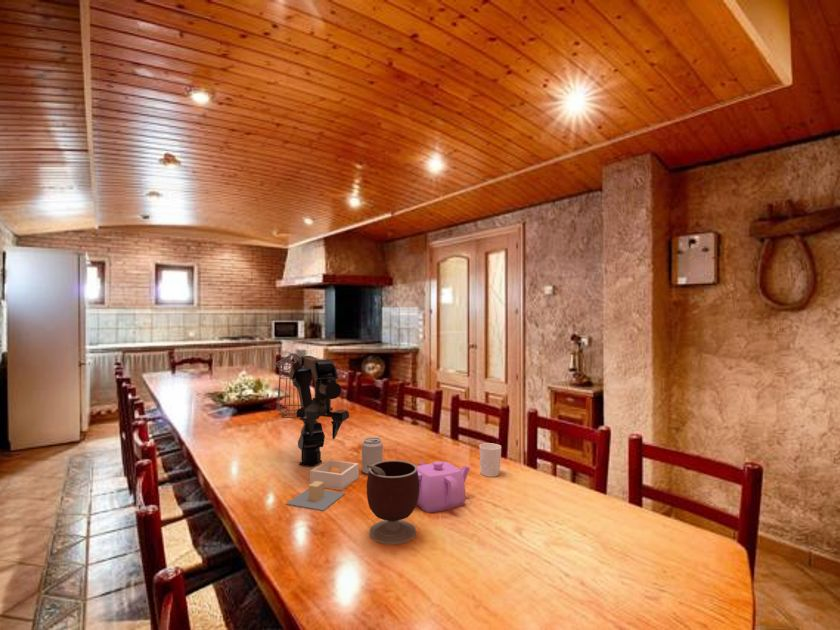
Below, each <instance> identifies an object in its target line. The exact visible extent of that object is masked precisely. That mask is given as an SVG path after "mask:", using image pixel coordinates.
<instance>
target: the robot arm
mask: <svg viewBox="0 0 840 630" xmlns="http://www.w3.org/2000/svg"><path fill="white" fill-rule="evenodd" d="M299 357H300V358H298V359H299V360H298V361H297V360H296V363H295V362H294V363H293V364H292V365H293V366H291V367H290V368H291V369H290V370H289V371H290V372H289V375H290V376H289V378H291V381H292V385H294V388H296V390H297V389H298V398H299V405H301V406H300V407H299V409H298V408H297V409H298V410H297V411H295V413H296V414H295V417H297V418H299V420H300V421H303V426H302V427H301V430H300V436H299V438H298V440H297V448H298V449H299V450H300V451H301V457H300V458H301V462H299V463H298V465H299V466H306V467H316V466H318V465H320V464H321V463H323V460H322V457H321V456H322V455H321V453H322V452H321V448H323V447H324V443H325V437H326V436H325V435H326V434H325V433H324V432H325V431H324V430H323V425H322V423H321V422H318V421H317V420H319V419H320V417H323V418H324V417H325V418H331V421H330V423H331V426H332V428H331V429H332V432H331V433H332V434H331V435H332V437H331V438H332V440H335V439H336V437H337V434H338V432H339V430H340V427H341V425H342V424H343V422H344V421H345V422H346V420H347V419H350V413H349V411H348V410H346V409H345V410H344V409H337V410H335V411H333V407H332V406H331V402H332V400H334V399H337V398H339V396H340V395H341V393H342V388H341V386H340V384H339V383H338V382H337V379H338V375H339V373H338V370H337V368H336V365H335V363H334V362H333V360H332V359H331V358H329V359H319V358H316V357H314V356H312V355H303V356H302V355H301V356H299ZM302 366H303V367H302ZM313 381H314V397H313V396H312V391H311V386H310V385H311V383H312V382H313Z"/></svg>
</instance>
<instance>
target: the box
mask: <svg viewBox="0 0 840 630" xmlns="http://www.w3.org/2000/svg"><path fill="white" fill-rule="evenodd" d="M359 466H360V464H359V463H358V462H357V463H356V462H349V461H341V460H336V459H335V460H334V459H327V460H326V461H324V462H321V463H320V464H318V465H316V466H314V468H312V469H311V470H310V472H309V485H310V484H312V483H313V482H315V481H320V482H324V489H331V490H338V491H343V490H344V489H346V488H347V487H348V486H350V485H351V484H352V483H353V482H355V481H356V480H357V479H359ZM334 467H337V468H339V469H340V471H341V474H339V473H332V472H329V471H330V470H331V469H332V468H334Z"/></svg>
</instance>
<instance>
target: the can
mask: <svg viewBox="0 0 840 630" xmlns="http://www.w3.org/2000/svg"><path fill="white" fill-rule="evenodd" d="M381 440H382V439H381V438H380V437H376V436H373V437H372V436H370V437H366V438H364V439H363V442H362V443H361V471H362V472H363V473H364V474H366V475H368V473H369V468H367V465H373V464H375V463H378V462H382V461H384V460H383V459H384V458H383V454H384V453H383V452H384V451H383V450H384V449H383V448H384V447H383V442H382V441H381Z"/></svg>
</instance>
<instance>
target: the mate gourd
mask: <svg viewBox="0 0 840 630" xmlns="http://www.w3.org/2000/svg"><path fill="white" fill-rule="evenodd" d="M417 466H418V465H416V464H414V463H413V462H409V461H406V460H398V459H397V460H396V459H394V460H393V459H391V460H383V461H382V462H378V463H375V464H373V465H367V468H369V473H368V474H367V478H366V497H367V498H366V499H367V503H368V508H369V509H370V510H371V512H372V513H373V514H374V516H375V517H377V519H380V520H381V521H379V522H376V523H374V524H373V525H371V527H370V529H369V537H370V538H371V539H372V540H373V541H374V542H376V543H379V544H382V545H390V546H391V545H392V546H393V545H401V544H405V543H408V542H410V541H412V540H413V539H414V538H415V536H416V533H417V531H416V530H417V529H416V527H415V525H414V524H413V523H411V522H409V521H407V520H406V519H407V518H408V517H410V516H411V515H412V513H413V511H415V509H416V508H417V506H418V505H417V502H418V496H419V477H418V472H417Z"/></svg>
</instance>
